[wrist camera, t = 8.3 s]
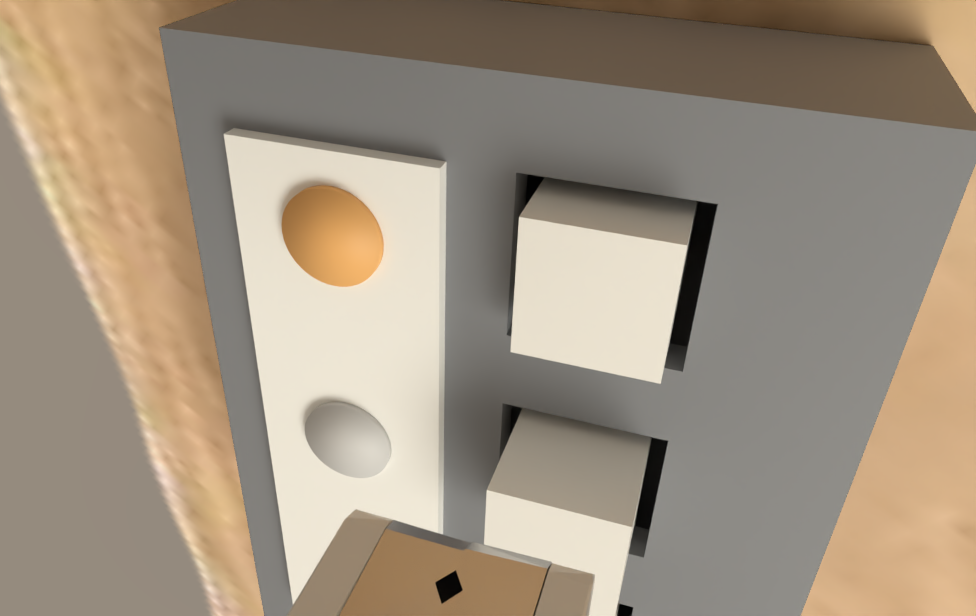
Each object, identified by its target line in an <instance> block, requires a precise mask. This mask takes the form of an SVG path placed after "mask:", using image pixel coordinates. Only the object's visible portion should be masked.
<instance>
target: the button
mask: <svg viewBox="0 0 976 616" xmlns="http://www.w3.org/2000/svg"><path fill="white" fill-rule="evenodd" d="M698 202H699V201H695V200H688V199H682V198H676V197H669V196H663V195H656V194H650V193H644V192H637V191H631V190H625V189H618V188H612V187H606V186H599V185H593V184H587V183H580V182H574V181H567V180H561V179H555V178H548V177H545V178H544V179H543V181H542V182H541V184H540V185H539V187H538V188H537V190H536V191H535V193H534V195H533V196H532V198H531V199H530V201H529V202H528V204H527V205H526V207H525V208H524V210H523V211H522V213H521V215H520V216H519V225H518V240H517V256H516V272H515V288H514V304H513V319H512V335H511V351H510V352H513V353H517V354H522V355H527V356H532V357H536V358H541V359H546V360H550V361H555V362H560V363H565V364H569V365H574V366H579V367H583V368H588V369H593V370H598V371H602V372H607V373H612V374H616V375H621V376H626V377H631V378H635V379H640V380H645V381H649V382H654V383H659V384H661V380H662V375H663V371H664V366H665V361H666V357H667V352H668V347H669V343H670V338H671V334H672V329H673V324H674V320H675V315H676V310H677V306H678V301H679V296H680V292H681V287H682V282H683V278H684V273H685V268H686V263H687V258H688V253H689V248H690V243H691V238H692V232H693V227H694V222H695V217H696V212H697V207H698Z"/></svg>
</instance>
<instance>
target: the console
mask: <svg viewBox="0 0 976 616" xmlns="http://www.w3.org/2000/svg"><path fill="white" fill-rule="evenodd" d="M159 30H160V36H161V41H162V47H163V52H164V58H165V63H166V69H167V75H168V80H169V86H170V91H171V97H172V103H173V108H174V114H175V119H176V125H177V130H178V136H179V142H180V147H181V153H182V158H183V164H184V170H185V175H186V181H187V186H188V192H189V197H190V203H191V209H192V214H193V220H194V225H195V231H196V237H197V242H198V248H199V253H200V259H201V265H202V270H203V276H204V281H205V287H206V292H207V298H208V304H209V309H210V315H211V320H212V326H213V332H214V337H215V343H216V348H217V354H218V359H219V365H220V371H221V376H222V382H223V387H224V393H225V399H226V404H227V410H228V415H229V421H230V427H231V432H232V438H233V443H234V449H235V454H236V460H237V466H238V471H239V477H240V482H241V488H242V494H243V499H244V505H245V510H246V516H247V521H248V527H249V533H250V538H251V544H252V549H253V555H254V561H255V566H256V572H257V577H258V583H259V588H260V594H261V600H262V605H263V611H264V616H287V614H288V613H289V611H290V609H291V608H292V606H293V604H294V603H295V601H296V599H297V598H298V596H299V594H300V593H301V591H302V589H303V588H304V586H305V584H306V583H307V581H308V579H309V578H310V576H311V574H312V573H313V571H314V569H315V568H316V566H317V564H318V563H319V561H320V559H321V558H322V556H323V554H324V553H325V551H326V549H327V548H328V546H329V544H330V543H331V541H332V539H333V538H334V536H335V534H336V533H337V531H338V529H339V528H340V526H341V524H342V523H343V521H344V519H345V518H347V517H348V516H349V515H350V514H351V513H352V512H353V511H354V510H355V509H357V510H360V511H364V512H368V513H371V514H375V515H378V516H382V517H386V518H389V519H393V520H396V521H399V522H403V523H406V524H409V525H413V526H416V527H419V528H423V529H426V530H429V531H433V532H436V533H439V534H443V535H446V536H449V537H453V538H456V539H459V540H463V541H466V542H469V543H471V542H476V543H480V544H484V534H485V514H486V493H487V488H488V486H489V484H490V481H491V479H492V477H493V474H494V472H495V470H496V468H497V465H498V463H499V461H500V458H501V456H502V454H503V451H504V449H505V447H506V445H507V442H508V440H509V438H510V435H511V433H512V431H513V429H514V426H515V424H516V422H517V419H518V417H519V415H520V413H521V410H522V408H526V409H530V410H535V411H539V412H543V413H548V414H552V415H557V416H561V417H565V418H570V419H574V420H578V421H583V422H587V423H592V424H596V425H600V426H605V427H609V428H614V429H618V430H622V431H627V432H631V433H635V434H640V435H644V436H649V437H652V441H651V446H650V451H649V456H648V461H647V466H646V471H645V477H644V481H643V486H642V491H641V496H640V501H639V505H638V510H637V513H638V515H637V520H636V525H635V526H634V529H633V534H632V539H631V543H630V548H629V553H628V558H627V563H626V567H625V572H624V577H623V582H622V586H621V591H620V596H619V601H618V603H619V604H620V606H619V611H618V616H801V613H802V610H803V608H804V605H805V603H806V600H807V597H808V595H809V592H810V590H811V587H812V585H813V582H814V579H815V577H816V574H817V572H818V569H819V566H820V564H821V561H822V559H823V556H824V554H825V551H826V548H827V546H828V543H829V541H830V538H831V536H832V533H833V530H834V528H835V525H836V523H837V520H838V517H839V515H840V512H841V510H842V507H843V505H844V502H845V499H846V497H847V494H848V492H849V489H850V486H851V484H852V481H853V479H854V476H855V474H856V471H857V468H858V466H859V463H860V461H861V458H862V456H863V453H864V450H865V448H866V445H867V443H868V440H869V437H870V435H871V432H872V430H873V427H874V425H875V422H876V419H877V417H878V414H879V412H880V409H881V407H882V404H883V401H884V399H885V396H886V394H887V391H888V388H889V386H890V383H891V381H892V378H893V376H894V373H895V370H896V368H897V365H898V363H899V360H900V357H901V355H902V352H903V350H904V347H905V345H906V342H907V339H908V337H909V334H910V332H911V329H912V327H913V324H914V321H915V319H916V316H917V314H918V311H919V308H920V306H921V303H922V301H923V298H924V296H925V293H926V290H927V288H928V285H929V283H930V280H931V277H932V275H933V272H934V270H935V267H936V265H937V262H938V259H939V257H940V254H941V252H942V249H943V247H944V244H945V241H946V239H947V236H948V234H949V231H950V228H951V226H952V223H953V221H954V218H955V216H956V213H957V210H958V208H959V205H960V203H961V200H962V197H963V195H964V192H965V190H966V187H967V185H968V182H969V179H970V177H971V174H972V172H973V169H974V167H975V164H976V114H975V112H974V110H973V109H972V107H971V106H970V104H969V102H968V101H967V99H966V98H965V96H964V94H963V93H962V91H961V90H960V88H959V86H958V85H957V83H956V82H955V80H954V78H953V77H952V75H951V74H950V72H949V70H948V69H947V67H946V66H945V64H944V62H943V61H942V59H941V58H940V56H939V54H938V53H937V51H936V50H935V48H934V46H929V45H920V44H910V43H901V42H891V41H882V40H872V39H863V38H853V37H844V36H834V35H825V34H815V33H806V32H796V31H787V30H777V29H768V28H759V27H749V26H740V25H730V24H721V23H711V22H702V21H692V20H683V19H673V18H664V17H654V16H645V15H635V14H626V13H616V12H607V11H597V10H588V9H578V8H569V7H559V6H550V5H540V4H531V3H521V2H512V1H502V0H236V1H234V2H231V3H228V4H225V5H222V6H219V7H216V8H214V9H211V10H208V11H205V12H202V13H199V14H196V15H194V16H191V17H188V18H185V19H182V20H179V21H176V22H174V23H171V24H168V25H165V26H162V27H159ZM545 177H548V178H555V179H561V180H567V181H574V182H580V183H587V184H593V185H599V186H606V187H612V188H618V189H625V190H631V191H637V192H644V193H650V194H656V195H663V196H669V197H676V198H682V199H688V200H695V201H699V202H698V207H697V212H696V217H695V222H694V227H693V232H692V238H691V243H690V248H689V253H688V258H687V263H686V268H685V273H684V278H683V282H682V287H681V292H680V296H679V301H678V306H677V310H676V315H675V320H674V324H673V329H672V334H671V338H670V343H669V347H668V352H667V357H666V361H665V366H664V371H663V375H662V380H661V384H659V383H654V382H649V381H645V380H640V379H635V378H631V377H626V376H621V375H616V374H612V373H607V372H602V371H598V370H593V369H588V368H583V367H579V366H574V365H569V364H565V363H560V362H555V361H550V360H546V359H541V358H536V357H532V356H527V355H522V354H517V353H513V352H510V351H511V335H512V319H513V304H514V288H515V272H516V256H517V240H518V225H519V216H520V215H521V213H522V211H523V210H524V208H525V207H526V205H527V204H528V202H529V201H530V199H531V198H532V196H533V195H534V193H535V191H536V190H537V188H538V187H539V185H540V184H541V182H542V181H543V179H544V178H545Z"/></svg>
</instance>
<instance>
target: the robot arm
mask: <svg viewBox="0 0 976 616" xmlns="http://www.w3.org/2000/svg"><path fill="white" fill-rule="evenodd" d="M594 583H595V574H592V573H588V572H584V571H580V570H576V569H573V568H569V567H565V566H561V565H557V564H553V563H552V562H551V561H547V560H543V559H539V558H535V557H531V556H527V555H523V554H519V553H515V552H511V551H508V550H504V549H500V548H496V547H492V546H488V545H484V544H480V543H476V542H471V543H469V542H466V541H463V540H459V539H456V538H453V537H449V536H446V535H443V534H439V533H436V532H433V531H429V530H426V529H423V528H419V527H416V526H413V525H409V524H406V523H403V522H399V521H396V520H393V519H389V518H386V517H382V516H378V515H375V514H371V513H368V512H364V511H360V510H357V509H355V510H354V511H353V512H352V513H351V514H350V515H349V516H348V517H347V518H345V519H344V521H343V523H342V524H341V526H340V528H339V529H338V531H337V533H336V534H335V536H334V538H333V539H332V541H331V543H330V544H329V546H328V548H327V549H326V551H325V553H324V554H323V556H322V558H321V559H320V561H319V563H318V564H317V566H316V568H315V569H314V571H313V573H312V574H311V576H310V578H309V579H308V581H307V583H306V584H305V586H304V588H303V589H302V591H301V593H300V594H299V596H298V598H297V599H296V601H295V603H294V604H293V606H292V608H291V609H290V611H289V613H288V614H287V616H589V613H590V607H591V601H592V595H593V589H594Z"/></svg>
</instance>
